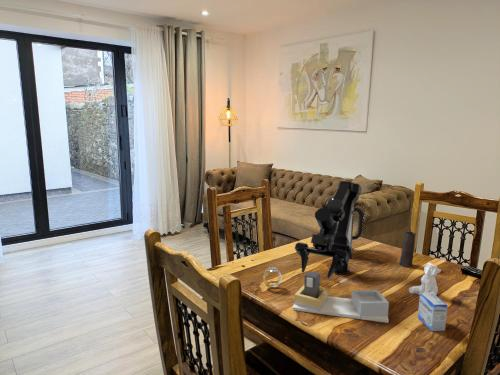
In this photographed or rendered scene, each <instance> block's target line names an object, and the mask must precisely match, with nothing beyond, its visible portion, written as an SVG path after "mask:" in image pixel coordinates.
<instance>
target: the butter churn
mask: <svg viewBox="0 0 500 375" xmlns="http://www.w3.org/2000/svg"><path fill="white" fill-rule="evenodd" d="M408 202H409V203H408V205H409V206H408V207H409V208H408V214H409V215H408V231H405V233H404V238H403V244H402V248H401V254H400V257H399V258H400V260H399V265H400V266H402V267H406V268H411V267H412V266H413V258H414V251H415V250H414V249H415V243H416V233H415V232H412V231H411V204H412V203H411V201H408Z"/></svg>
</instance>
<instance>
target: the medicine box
mask: <svg viewBox="0 0 500 375" xmlns="http://www.w3.org/2000/svg"><path fill="white" fill-rule="evenodd" d="M417 310H418V312H417V318H418V320H419V321H420V322H421V323H423V325H424V326H426V327H427V328H428V329H429V330H430V331H431V332H444V331H446V323H447V313H448V304H447V303H446V302H445V301H443V300H442V299H441V298H440V297H439V296H437V295H434V294H433V293H420V295H419V303H418V309H417Z"/></svg>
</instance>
